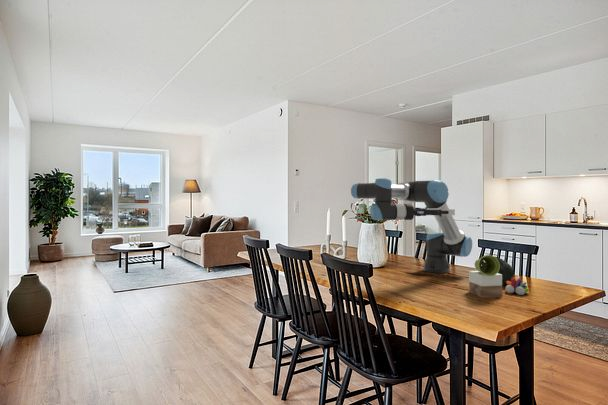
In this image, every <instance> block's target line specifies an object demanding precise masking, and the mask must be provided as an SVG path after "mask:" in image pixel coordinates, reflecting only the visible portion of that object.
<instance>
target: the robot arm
mask: <svg viewBox="0 0 608 405" xmlns="http://www.w3.org/2000/svg"><path fill="white" fill-rule="evenodd" d="M350 194H351V196H352V198H354V199H358V200H362V199H363V200H364V199H371V200H372V199H375V202H374V203H373V204H371V206H370V208H369V209H370V211H369V212H370V213H369V215H370V218H371V220H374V221H396V222H399V221H412V220H413V219H414V218H415V217H421V216H422V217H425V216H433V217H434V218H435V220H436V221H437V224H438V226H439V228H440V230H441V232H432V233H428V234H427V235H426V257H425V261H424V263H423V264H424V265H423V271H425V272H428V273H437V274H442V273H443V274H444V273H445V274H446V273H450V272H451V267H450V264H449V261H448V257H447V256H453V257H460V258H461V257H462V258H463V257H464V258H465V257H468V256H470V254H471V252H472V249H473V239H472V238H471V237H470V236H466V235H465V233H464V231H462V230H460V229H459V227H458V225H457V222H456V221H455V219H454V216H455V215H456V214H455V212H456V211H455V210H456V209H450V208H449V206H448V204H447V202H448V199H449V188H448V185H447V184H446V182H444V181H443V180H440V179H439V180H436V179H432V180H413V181H409V182H408V181H407V182H406V181H405V182H399V183H397V184H394V183H393V184H392V179H391V178H388V177H387V178H386V177H384V178H383V177H382V178H375V182H369V183H368V182H366V183H364V182H363V183H360V182H359V183H354V184H352V186H351V187H350ZM393 199H397V200H399V201H406V202H414V203H424V205H425V207H422V208H421V207H414V204H413V203H393V202H392V201H393Z"/></svg>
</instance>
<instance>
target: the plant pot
mask: <svg viewBox="0 0 608 405" xmlns="http://www.w3.org/2000/svg"><path fill="white" fill-rule="evenodd" d="M495 257H496V256H494V255H492V254H487V255H484V256H481V257H480V258H478V259H476V260H475V262H474V268H475V270H476V271H480V272H481V273H483V274H484V275H486V276H494V275H496V274H497V273H498V271H499V269H500V264H499V261H498V260H497V258H495ZM485 268H486V269H485Z"/></svg>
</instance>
